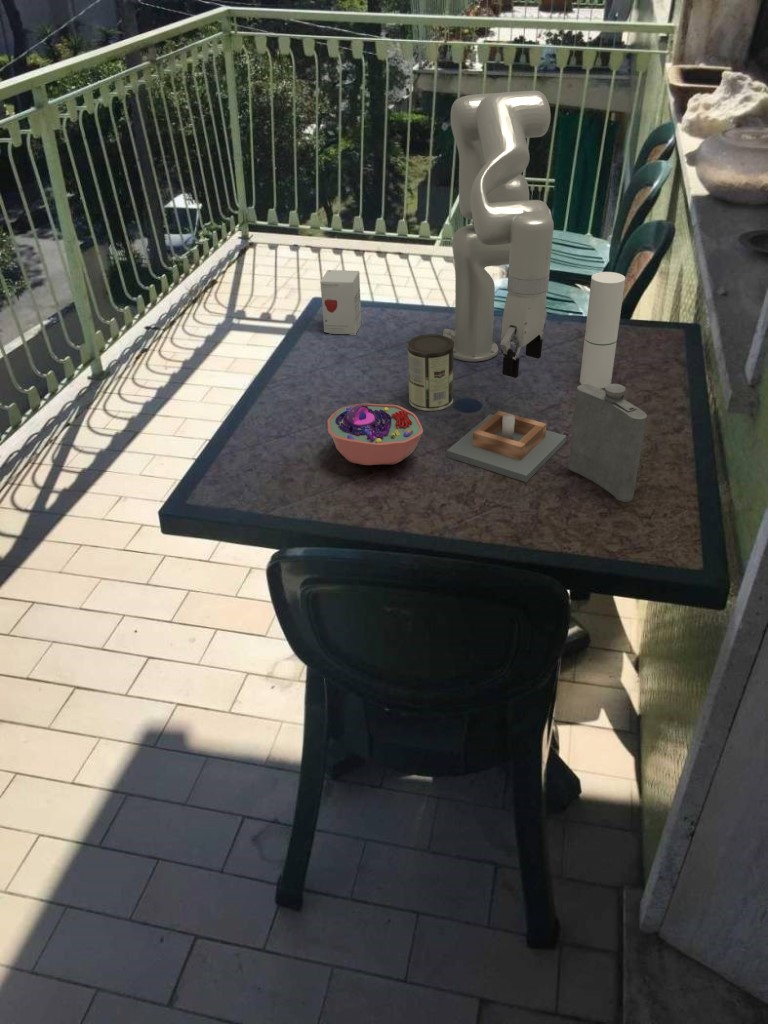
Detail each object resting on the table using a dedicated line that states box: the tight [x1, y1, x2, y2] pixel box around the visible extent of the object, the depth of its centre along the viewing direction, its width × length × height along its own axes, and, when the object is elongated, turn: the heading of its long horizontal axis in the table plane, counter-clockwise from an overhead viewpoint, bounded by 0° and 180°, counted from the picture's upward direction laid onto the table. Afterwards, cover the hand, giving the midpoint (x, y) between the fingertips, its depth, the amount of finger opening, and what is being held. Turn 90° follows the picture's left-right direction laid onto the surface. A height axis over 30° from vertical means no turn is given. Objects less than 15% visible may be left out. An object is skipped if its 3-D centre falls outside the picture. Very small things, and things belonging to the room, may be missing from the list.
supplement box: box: [320, 269, 362, 336], centre depth 218 cm, size 9×9×15 cm
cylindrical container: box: [579, 271, 626, 389], centre depth 184 cm, size 7×7×25 cm
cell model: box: [326, 403, 424, 466], centre depth 163 cm, size 17×20×11 cm
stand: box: [446, 413, 567, 483], centre depth 165 cm, size 18×18×8 cm
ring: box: [473, 410, 548, 460], centre depth 167 cm, size 11×11×3 cm
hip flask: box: [567, 383, 648, 503], centre depth 151 cm, size 16×4×20 cm, turn 33°
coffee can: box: [406, 334, 454, 412], centre depth 182 cm, size 10×10×14 cm
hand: (521, 366), depth 162 cm, fingers open, 9 cm apart
